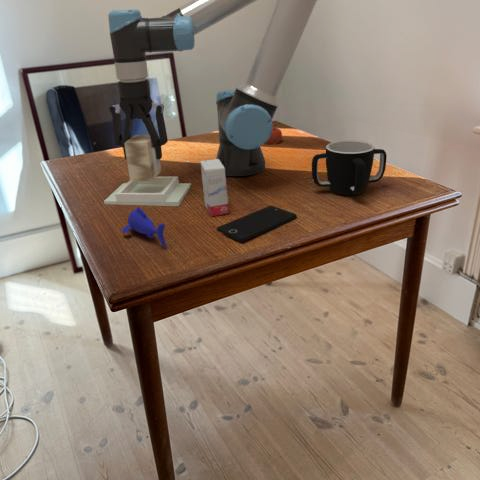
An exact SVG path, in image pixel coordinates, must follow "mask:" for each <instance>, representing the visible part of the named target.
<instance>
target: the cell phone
mask: <svg viewBox="0 0 480 480" xmlns="http://www.w3.org/2000/svg"><path fill="white" fill-rule="evenodd" d="M295 219H297V214H296V213H295V212H292V211H288V210H286V209H282V208H279V207H278V206H277V207H276V206H274V205H269V206H266V207H264V208H261V209H259V210H256V211H253V212H251V213H248V214H247V215H244V216H242V217H239V218H236V219H234V220H231V221H229V222H227V223H224V224H222V225H220V226H218V227H216V231H217V232H219V233H222V235H223V236H226V237H228V238H231V239H232V240H235V241H236V242H240V243H244V242H246V241H248V240H250V239H252V238H253V239H254V237H257V236H259V235H261V234H263V233H266V232H268V231H270V230H272V229H275V228H278V227H279V226H281V225H283V224H286V223H288V222H290V221H292V220H295Z"/></svg>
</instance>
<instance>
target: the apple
mask: <svg viewBox="0 0 480 480" xmlns="http://www.w3.org/2000/svg"><path fill="white" fill-rule="evenodd" d="M276 126H277V124H275V125H274V127H273V126H272V132H271V135H270V137H269V139H268V140H267V141H266V142H265V143H266V144H265V145H276V144H275V143H278V144H280V143H281V142H282V139H283V133H282V130H281V129H280V128H278V127H276ZM280 141H281V142H280ZM279 142H280V143H279Z"/></svg>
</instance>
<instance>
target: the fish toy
mask: <svg viewBox="0 0 480 480" xmlns="http://www.w3.org/2000/svg"><path fill="white" fill-rule="evenodd" d="M165 226H166V224H165V223H159V224H158V226H157V228H156V227H155V224H154V221H152V220H151V218H149V216H147V214H146V213H145V211H144V210H143V209H142V208H141V207H139V206H136V209H133V210H132V211H130V213H129V215H128V218H127V225H126V226H124V227H123V228H122V230H121V231H122V232H123V233H125V234H127V233H128V232H130V229H132V230H134V231H135V232H136V233H140V234H143V235H146V237H147V238H148V239H153V238H154V235H155V234H156V235H157V237H158V240H159V242H160V243H161V245H162V246H163V247H164V248H165V249H167V244H166V240H165V236H164V230H165Z"/></svg>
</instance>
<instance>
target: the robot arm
mask: <svg viewBox="0 0 480 480" xmlns="http://www.w3.org/2000/svg"><path fill="white" fill-rule="evenodd" d="M256 1H258V0H189V1H188V2H187V3H185V4H183V5H181V6H180V7H178V8H177V9H174V10H172V11H171V12H169V13H167V14H166V15H162V16H161V17H151V18H149V17H147V18H146V17H142V16H143V15H142V14H141V11H140V9H116V10H113V9H112V10H111V11H110V12H109V13H108V15H107V17H108V26H109V27H108V28H109V36H110V41H111V49H112V54H113V61H114V62H113V63H114V69H115V76H116V79H117V80H119V81H118V82H117V89H118V94H119V95H118V96H119V102H118V103H117V104H114V105H112V106H110V107H109V111H110V114H111V117H112V124H113V125H112V126H113V136H114V144H115V145H116V146H120V147H122V150H123V154H124V155H123V157H124V159H125V160H127V158H126V151H125V144H124V143H125V142H126V141H128V140H129V139H130V138H132V134H133V133H132V131H133V125H134V121H135V119H138V120H141V121H142V123H143V124H144V126H145V128H146V131H147V133H148V135H150V138H151V140H152V142H153V145H154V147H152V156H153V164H154V172H155V173H157V172H158V171H159V170H160V165H161V161H160V162H159V159H160V160H161V159H162V158H163V152H162V146H164V145H166V144H167V143H168V135H167V129H166V123H165V118H164V117H165V116H164V108H165V106H164V104H163V103H160V104H158V103H155V102H154V101H153V99H152V97H151V89H150V81H149V80H148V77H149V74H148V72H149V71H148V63H147V56H146V54H147V53H149V54H150V53H159V52H160V53H162V52H163V53H164V52H165V53H166V52H184V51H191V50H193V49H194V48H195V45H196V44H195V35H197V34H200V33H201V32H203V31H205V30H207V29H208V28H210V27H211V26H213V25H215V24H217V23H219V22H220V21H223V20H224V19H226V18H228V17H230V16H231V15H233V14H235V13H237V12H239V11H240V10H242V9H244V8H246V7H247V6H249V5H253V4H254V3H255V2H256ZM317 1H318V0H277V2H276V5H275V6H274V10H273V13H272V15H271V17H270V20H269V23H268V25H267V27H266V29H265V32H264V34H263V37H262V39H261V42H260V43H259V47H258V49H257V51H256V54H255V56H254V59H253V62H252V65H251V67H250V69H249V71H248V74H247V76H246V79H245V81H244V82H243V83H242V84H240V85H237V86H236V88H235V89H233V90H222V91H218V92H217V93H216V101H215V104H216V110H217V126H218V140H219V145H218V150H217V154H216V158H215V159H219V160H220V162H221V163H222V165H223V166H224V168H225V176H228V177H229V176H230V177H245V176H251V175H256V174H259V173H261V172H263V171H265V169H266V158H265V156H264V153H263V151H262V146H263V145H265V144H264V143H265V142H266V141H267V140H268V139H269V137H270V135H271V132H272V127H273V118H274V116H275V113H276V110H277V109H278V106H279V104H278V103H279V102H278V100H277V98H276V96H277V94H278V92H279V90H280V87H281V85H282V82H283V80H284V78H285V75H286V73H287V70H288V69H289V66H290V64H291V61H292V59H293V56H294V54H295V52H296V50H297V48H298V45H299V42H300V40H301V38H302V36H303V34H304V31H305V29H306V27H307V24H308V22H309V20H310V17H311V16H312V13H313V10H314V8H315V6H316V4H317ZM152 109H153V112H154V113H155V121H156V124H157V125H156V126H157V130H158V131H157V130H156V127H155V125H154V122H153V119H152V116H151V114H150V112H151V110H152ZM121 111H122V112H123V113H124V114H125V118H124V122H125V124H124V129H122V128H123V127H122V116H121V113H122V112H121Z"/></svg>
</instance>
